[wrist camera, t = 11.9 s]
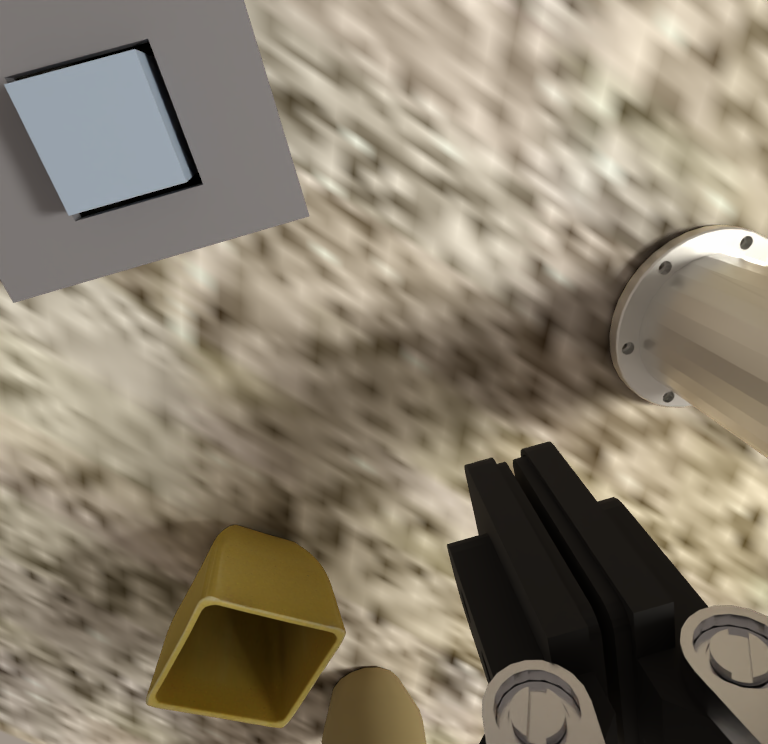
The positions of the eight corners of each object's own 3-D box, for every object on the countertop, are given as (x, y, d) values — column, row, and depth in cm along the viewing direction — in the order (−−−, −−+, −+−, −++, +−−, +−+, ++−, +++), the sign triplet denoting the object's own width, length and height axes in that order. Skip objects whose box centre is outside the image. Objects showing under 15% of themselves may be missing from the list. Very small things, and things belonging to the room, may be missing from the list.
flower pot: (281, 617, 44) (284, 732, 36) (166, 589, 41) (142, 708, 33) (333, 529, 41) (349, 632, 33) (215, 493, 38) (202, 595, 30)
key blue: (157, 58, 26) (134, 48, 22) (199, 170, 29) (186, 182, 24) (49, 88, 26) (3, 84, 22) (99, 198, 28) (68, 215, 24)
